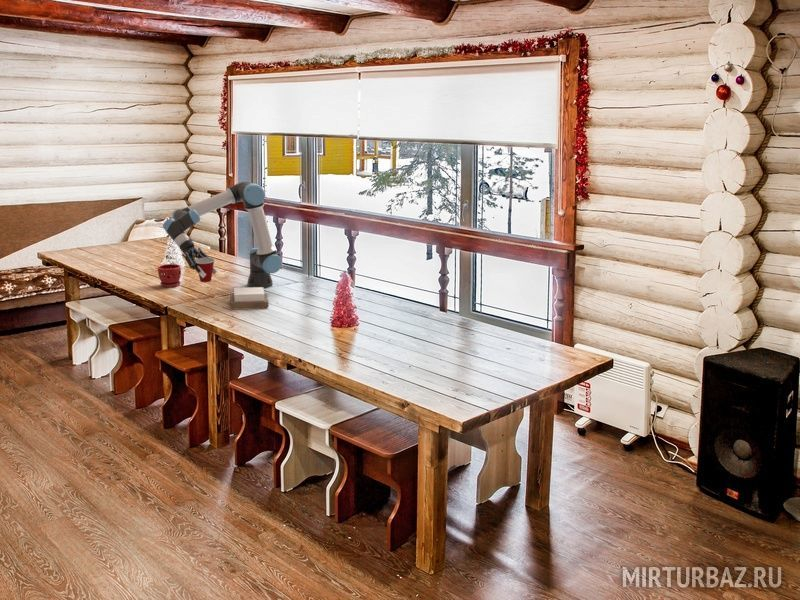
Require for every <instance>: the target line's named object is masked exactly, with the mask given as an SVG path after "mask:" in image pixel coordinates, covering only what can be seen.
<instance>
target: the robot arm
mask: <svg viewBox="0 0 800 600" xmlns="http://www.w3.org/2000/svg"><path fill="white" fill-rule="evenodd" d="M265 198H266V192H265V189H264V188H263V186H261V185H259V184H258V183H253V182H249V181H242V182H238V183H236V184H234V185H232V186H228V187H226V189H225V190H224V191H222V192H220V193H217V194H215V195H213V196H210V197H208V198H205V199H203V200H200V201H198V202H195V203H193V204H192V205H189V206H187V207H183V208H181V209H179V208H178V209H175V210H174V211H172V215H171V218H168V219H166V220H165V221H164V222H163V224H162V228H163V229H164V232H165V233H166V234H167V235H168V236H169V237H170V239H172V241H173V242H174V243H175V244H176V246H177V247H178V248H179V250H180V251H181V252H182V256H183V258H184V259H185V261H186V263H187V264H188V267H189V268H190V269H192V270H193V271H194V270H195V271H196V273H199V274H200V276H201V277H202V278H204V277H205V276H206V274H205V273H204V271H203V270H202V269H201V268H200V266H197V263H196V259H198V258H205V257H207V258H210V256H208V254H206V253H205V252H204V251H203V250H202V249H201V247H198V248H196V247H195V243H194V242H193V240H192V239H190V236H188V235H187V234H186V232H185V231H187V230H189V229H190V228H192V227H193V226H195V225H196V224H197V223H200V221H201V216H203V215H206V214H208V213H210V212H212V211H215V210H217V209H221V208H223V207H225V206H227V205H229V204H233V205H234V204H236V203H240V202H241V203H243V206H244V210H246V211H248V215H249V220H250V222H251V226H252V230H253V235H254V239H255V242H256V246H257V247H253V248H250V249H249V275H248V278H247V281H246V282H247V284H246V285H247V287H249V288H250V287H263V288H268V287H269V286H270V287H271V286H273V278H272V276H271V274H272V275H273V274H276V273H278V272H279V271H280V270H281V268H282V265H283V261H282V258H281V257H280V255H278V252H277V248H276V247H275V246H273V243H272V242H273V241H272V238H271V235H270V231H269V227H268V223H267V219H266V214H265V211H264V206H265ZM217 272H218V270H217V269H216V268H215V266H214V265H213V271H212V275H216V273H217ZM199 274H198V275H199ZM270 287H269V288H270Z"/></svg>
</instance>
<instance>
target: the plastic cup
mask: <svg viewBox="0 0 800 600" xmlns="http://www.w3.org/2000/svg"><path fill="white" fill-rule="evenodd" d="M195 260H196V263H197V266H200V268H201V269H202V270H203V271H204V273H205V274H206V276H205V277H204V278H202V277H201V276H200V274H199V273H198V272H197V273H198V277H199V281H200V282H201V283H209V282H212V279H213V278H212V276H213V273H212V271H213V266H214V263H215V258H214V257H209V258H207V257H205V258H195Z"/></svg>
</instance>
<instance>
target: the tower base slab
mask: <svg viewBox="0 0 800 600" xmlns="http://www.w3.org/2000/svg"><path fill="white" fill-rule="evenodd" d="M229 298H230V299H229V300H230V301H229V302H230V310H236V309H235V308H238V309H237V310H240V309H239V308H250V309H268V308H267V307H269V298H268V294H267V293H266V292H264V301H250V302H235V300H234V293H231V294H230V297H229ZM263 307H264V308H263Z"/></svg>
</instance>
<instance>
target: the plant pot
mask: <svg viewBox="0 0 800 600" xmlns="http://www.w3.org/2000/svg"><path fill="white" fill-rule="evenodd" d="M157 273H158V278H159V280H160V284H159V285H161V287H164V288H176V287H178V286H180V285H181V281H180V279H181V277H182V276H181V274H182V267H181V265H180V264H177V263H176V264H174V263H168V264H162V265H159V266H158V267H157ZM175 286H176V287H175Z"/></svg>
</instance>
